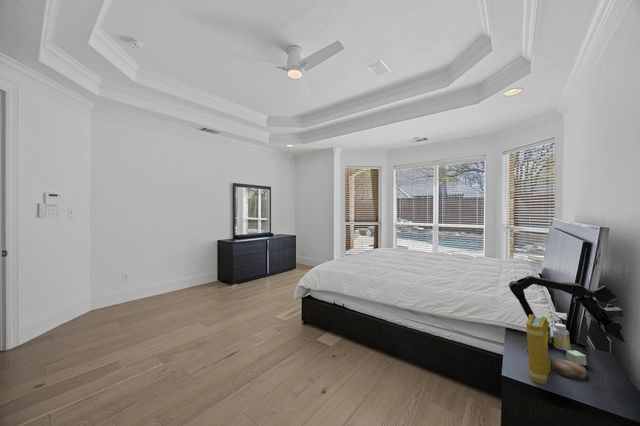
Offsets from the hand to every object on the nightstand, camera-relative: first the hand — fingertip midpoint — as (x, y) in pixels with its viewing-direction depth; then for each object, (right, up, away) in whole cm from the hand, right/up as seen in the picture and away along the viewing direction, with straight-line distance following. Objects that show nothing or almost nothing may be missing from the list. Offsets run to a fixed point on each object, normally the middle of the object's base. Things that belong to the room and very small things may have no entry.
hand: (618, 337), depth 124 cm
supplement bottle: (-8, -16, +21) cm, 27 cm away
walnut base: (-25, -16, -1) cm, 29 cm away
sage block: (-14, -16, +6) cm, 22 cm away
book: (-40, -17, -2) cm, 43 cm away
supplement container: (-12, -17, +30) cm, 36 cm away
